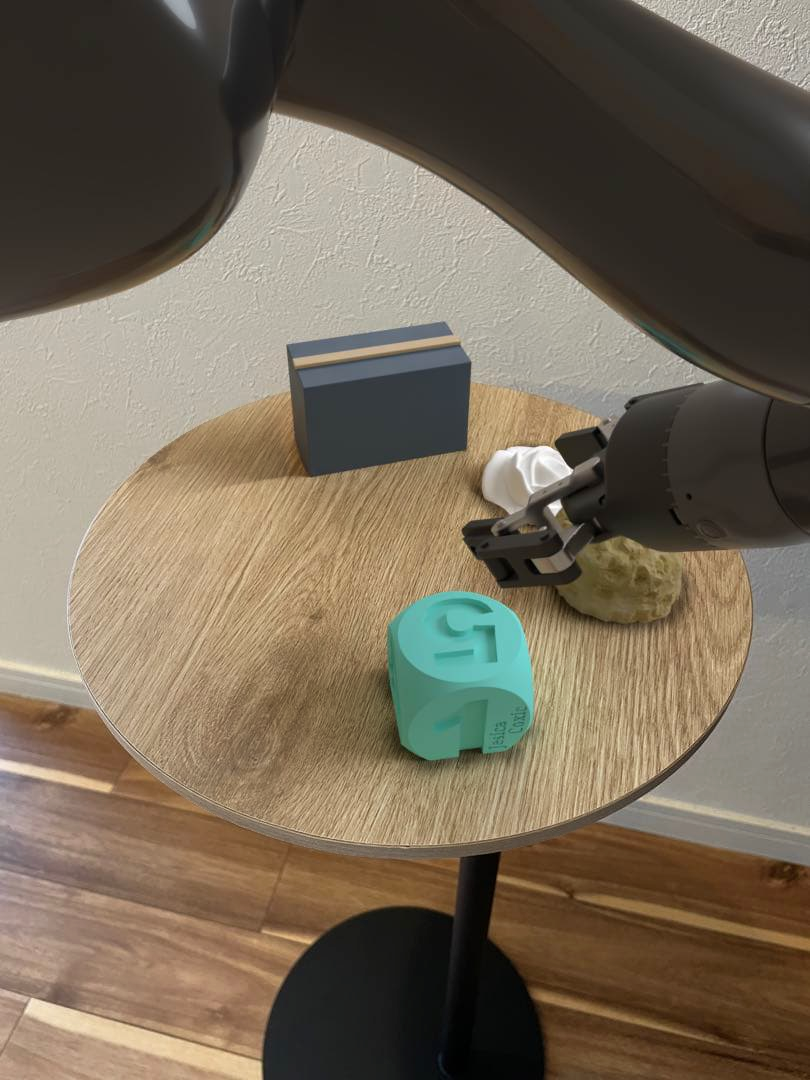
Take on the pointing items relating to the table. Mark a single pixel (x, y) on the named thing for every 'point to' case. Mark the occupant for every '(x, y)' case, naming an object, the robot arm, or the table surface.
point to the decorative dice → (459, 675)
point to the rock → (623, 580)
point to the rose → (522, 476)
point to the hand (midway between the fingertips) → (519, 495)
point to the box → (379, 397)
